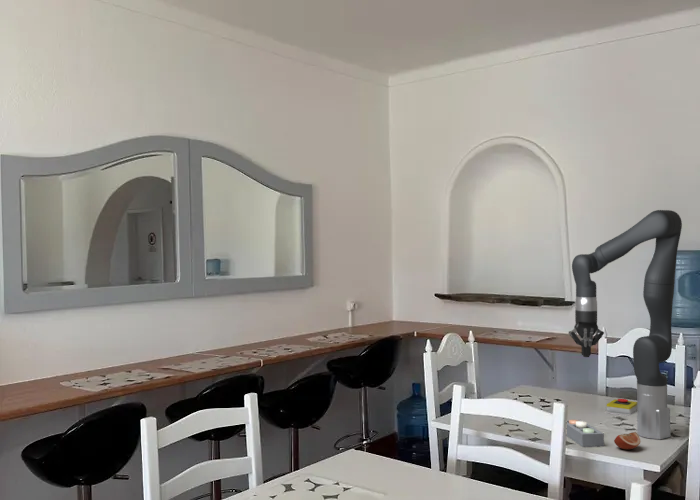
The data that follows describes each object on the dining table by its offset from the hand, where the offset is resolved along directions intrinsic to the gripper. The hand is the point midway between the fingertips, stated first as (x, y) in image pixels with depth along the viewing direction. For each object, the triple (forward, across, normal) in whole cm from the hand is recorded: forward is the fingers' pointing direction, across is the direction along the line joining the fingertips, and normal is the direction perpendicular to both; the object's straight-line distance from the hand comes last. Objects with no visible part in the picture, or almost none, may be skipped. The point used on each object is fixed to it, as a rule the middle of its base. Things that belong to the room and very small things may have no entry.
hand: (586, 356), depth 243 cm
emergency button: (+24, +21, +14) cm, 35 cm away
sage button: (+21, -12, -27) cm, 36 cm away
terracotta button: (+21, -12, -16) cm, 29 cm away
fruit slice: (+23, -3, -34) cm, 41 cm away
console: (+23, -12, -21) cm, 34 cm away
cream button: (+20, -12, -21) cm, 31 cm away
